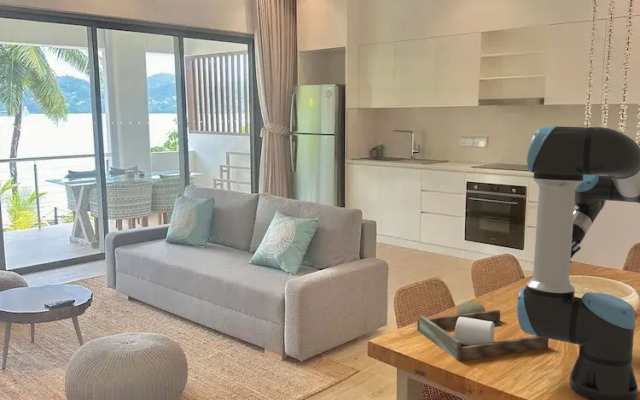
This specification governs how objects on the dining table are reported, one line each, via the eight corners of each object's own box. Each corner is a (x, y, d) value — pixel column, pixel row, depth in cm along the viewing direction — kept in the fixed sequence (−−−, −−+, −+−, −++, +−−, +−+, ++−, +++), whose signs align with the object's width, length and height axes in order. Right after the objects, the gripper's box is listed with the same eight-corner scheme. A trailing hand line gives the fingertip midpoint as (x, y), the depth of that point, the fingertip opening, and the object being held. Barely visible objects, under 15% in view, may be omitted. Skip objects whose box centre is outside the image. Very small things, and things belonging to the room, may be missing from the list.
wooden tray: (497, 319, 188) (498, 305, 187) (548, 347, 165) (549, 331, 164) (417, 330, 179) (417, 315, 178) (458, 361, 156) (459, 343, 155)
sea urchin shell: (460, 304, 198) (476, 291, 194) (475, 322, 196) (492, 310, 192) (450, 311, 191) (467, 298, 187) (466, 330, 188) (483, 317, 185)
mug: (488, 353, 161) (490, 327, 160) (454, 347, 166) (455, 321, 164) (496, 339, 172) (497, 314, 170) (463, 333, 176) (464, 309, 175)
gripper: (597, 235, 171) (560, 296, 164) (566, 237, 183) (530, 294, 176) (581, 219, 170) (544, 279, 163) (551, 222, 182) (514, 279, 175)
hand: (537, 287), depth 169 cm, fingers closed
